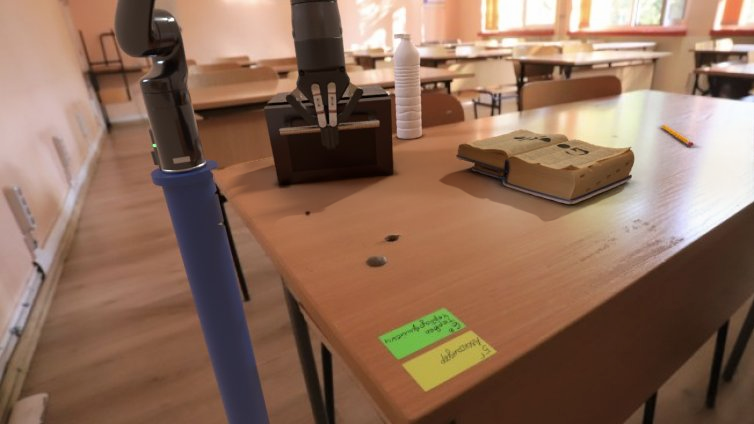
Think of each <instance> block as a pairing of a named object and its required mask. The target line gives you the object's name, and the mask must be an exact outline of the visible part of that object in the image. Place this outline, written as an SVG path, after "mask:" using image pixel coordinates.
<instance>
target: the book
mask: <svg viewBox="0 0 754 424" xmlns="http://www.w3.org/2000/svg"><path fill="white" fill-rule="evenodd" d="M631 148H632V146H628V147H610V146H609V147H607V146H601V145H596V144H593V143H590V142H587V141H584V140H581V139H577V138H574V139H570V140H569V138H568V136H566V135H565V134H563V133H546V134H545V133H544V134H543V133H536V132H533V131H530V130H528V129H518V130H514V131H511V132H508V133H504V134H500V135H496V136H491V137H488V138H483V139H477V140H474V141H468V142H464V143H460V144H459V145H458V148H457V154H455V157H456V159H458V160H459V161H464V162H469V163H472V164H473V165H474V166H472V171H473V172H478V173H480V174H483V175H487V176H488V177H489V176H490V177H493V178H497V179H501V181H502V184H503V185H504V186H505V187H508V188H510V189H513V190H517V191H520V192H523V193H525V194H531V195H533V196H536V197H540V198H543V199H546V200H552V201H554V202H557V203H563V204H566V205H575V204H578V203H580V202H582V201H585V200H587V199H589V198H592V197H595V196H596V195H598V194H601V193H604V192H606V191H609V190H612V189H613V188H616V187H618V186H621V185H622V184H625V183H627V182H629V181H630V180H631V179H632V178H633V176H632V174H630V173H631V171H632V169H633V167H634V164H635V154H634V150H632V149H631Z"/></svg>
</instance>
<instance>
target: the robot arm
mask: <svg viewBox="0 0 754 424" xmlns="http://www.w3.org/2000/svg"><path fill="white" fill-rule="evenodd" d="M156 2H157V0H117V1H116V6H115V11H114V18H113V31H114V37H115V41H116V44H117V45H118V47H119V49H120V50H121V51H122V52H123V53H124V54H125V55H126V56H128V57H131V58H135V59H147V58H151V67H150V69H149V71H148V72H147V73H145V74H144V75H143V76H141V77H140V78H139V79H138V86H139V90H140V93H141V97H142V100H143V105H144V108H145V111H146V115H147V119H148V122H149V126H150V128H149V129H148V133H149V137H150V140H151V144H152V147H153V150H150V154H151V158H152V162H153V164H154V166H157V167H158V168H159V170H160V171H162V172H163V173H165V174H181V173H187V172H192V171H196V170H199V169H201V168H203V167H205V166H206V165H207V164H206V160H205V159H206V158H205V154H204V150H203V145H202V140H201V136H200V132H199V128H198V124H197V119H196V114H195V109H194V105H193V102H192V97H191V93H190V89H189V84H188V77H189V67H188V61H187V55H186V50H185V44H184V38H183V35H182V31H181V28H180V25H179V23H178V21H177V19H176V18H175V16H174V15H173V13H171V12H170V11H168V10H166V9H165V8H160V7H156ZM289 2H290V21H291V22H290V23H291V37H292V40H293V46H294V53H295V60H296V67H297V79H296V82H295V83H296V87H295V88H294V89H293V90H292V91H290V92H291V93H290V94H288V95H287V96H286V101H287V102H288V103H289V104H290V105H291V106H292V107H293V108H294V109H295V110H296V111H297V112H298V113H299V114H300V115H301V116H302V117H303V118H304V119H305V120H306V121H307V122H308V123H309V124H310V125H317V126H319V127H320V131H321V139H322V144H323V146H327V150H329V149H336V145H338V144H339V135H338V125H339V124H340V123H342V122H344V121H346V120H347V119H348V117H349V116H350V114H351V113H352V111H353V109H354V108H355V106H356V105H357V103H358V101H359V100H360V98H361V97H362V95H363V90H362V88H360V86H357V85H356V84H354V83H352V82H351V78H350V75H349V74H348V72H347V66H346V57H345V47H344V36H343V33H344V31H343V30H344V29H343V27H342V26H343V25H342V18H341V13H340V10H339V3H338V0H289ZM347 88H349V92H348V96H349V97H350V99H349V101H348V103H347V104H346V106H345V107H344V109H343V111H342V112H341V114H339V115H337V106H336V103H338V102H339V101H340V100H341V98H342V97H343V95H344V93H345V91H346V89H347ZM300 92H302V94H303V95H304V96H305V97H306V98H307V99H308V100H309V101H310V103H312V104H313V105H315V107H316V112H317V116H318V117H317V116H314V115H313V114H312V113H311V112H310V111H309V110H308V109H307V108H306V107H305V106H304V105H303V104H302V103H301V101H302V96H301V95H300ZM324 104H329V123H330V125H328V124H327V119H326V114H325V108H324Z"/></svg>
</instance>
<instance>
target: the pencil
mask: <svg viewBox="0 0 754 424" xmlns="http://www.w3.org/2000/svg"><path fill="white" fill-rule="evenodd" d="M661 127H662V129H663V130H665V131H667V132H668V133H669V134H670V135H672V136H674V137H675V138H677V139H678V140H679V141H681V142H683V143H684V144H686V145H687V146H689V147H693V146H694V142H693V141H691V140H689V139H688V138H686V137H684V136H683V135H681V134H680V133H679V132H676V131H675V130H674V129H672V128H671V127H669V126H668V125H666V124H661Z"/></svg>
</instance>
